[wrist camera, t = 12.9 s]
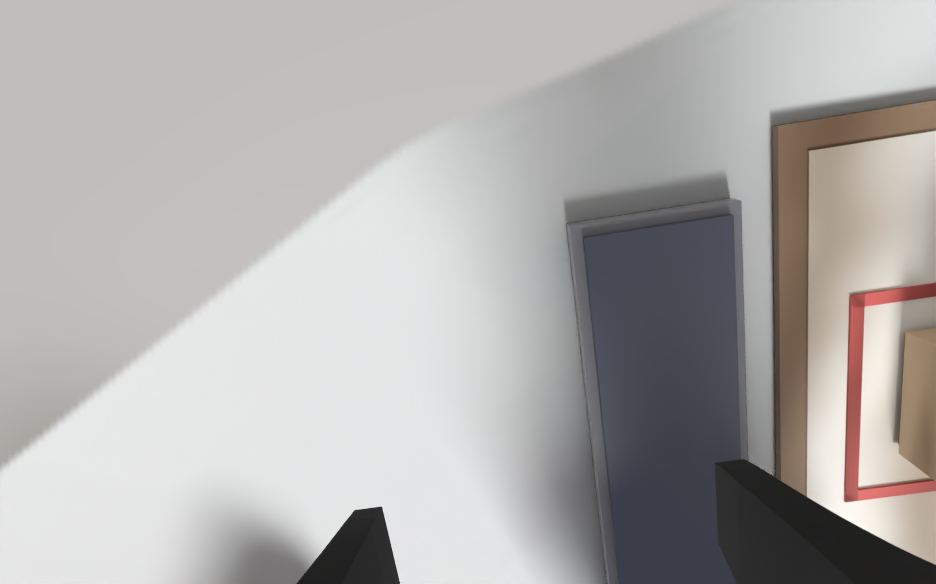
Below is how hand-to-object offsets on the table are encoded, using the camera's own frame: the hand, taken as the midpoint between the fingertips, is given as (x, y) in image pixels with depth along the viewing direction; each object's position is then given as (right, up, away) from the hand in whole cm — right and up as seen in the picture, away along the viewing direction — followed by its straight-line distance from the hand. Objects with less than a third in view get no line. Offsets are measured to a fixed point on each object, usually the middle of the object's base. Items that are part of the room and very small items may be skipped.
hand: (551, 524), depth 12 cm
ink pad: (+6, 0, +11) cm, 12 cm away
